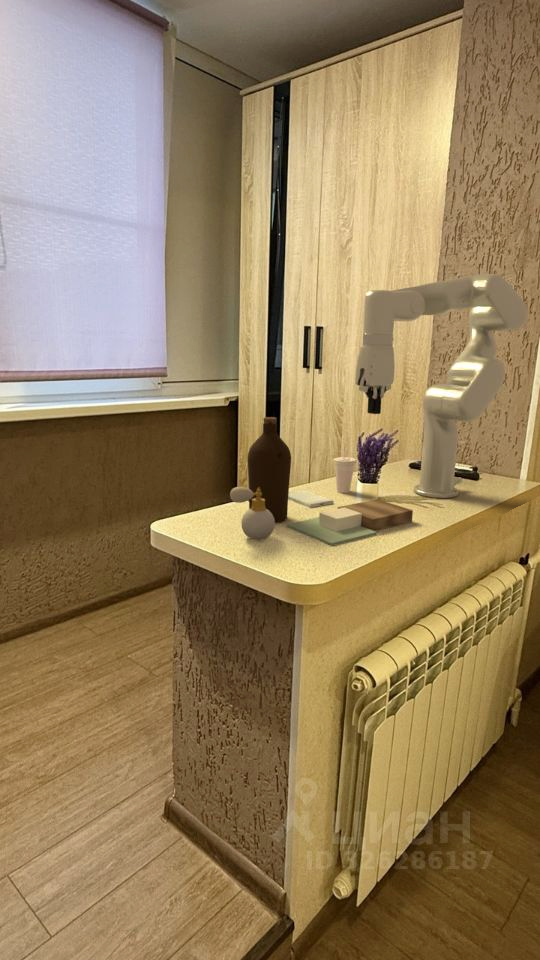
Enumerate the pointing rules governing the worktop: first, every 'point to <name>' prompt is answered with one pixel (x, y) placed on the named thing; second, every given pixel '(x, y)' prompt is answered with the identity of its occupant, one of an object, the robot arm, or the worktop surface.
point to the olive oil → (270, 470)
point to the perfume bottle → (254, 514)
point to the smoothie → (344, 472)
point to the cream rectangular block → (340, 519)
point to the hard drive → (308, 498)
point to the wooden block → (381, 514)
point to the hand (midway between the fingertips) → (373, 413)
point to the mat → (330, 532)
